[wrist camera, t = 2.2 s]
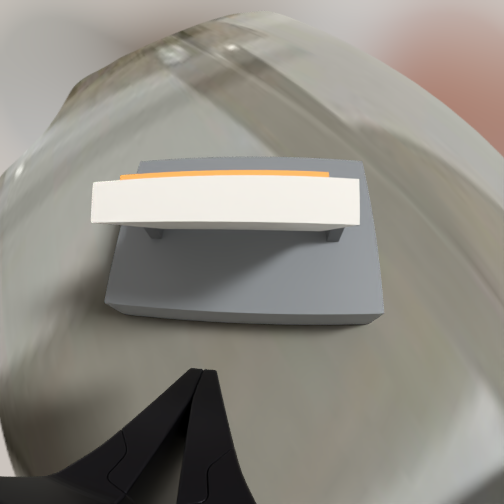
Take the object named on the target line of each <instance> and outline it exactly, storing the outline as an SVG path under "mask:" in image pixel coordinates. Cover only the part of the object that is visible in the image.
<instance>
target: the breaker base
mask: <svg viewBox="0 0 504 504" xmlns="http://www.w3.org/2000/svg"><path fill="white" fill-rule="evenodd" d="M208 170H289V171H317V172H329V177H333V178H350V179H359V190H360V225H356V226H350V227H344V228H338V229H332V230H326V231H285V230H226V229H159V228H148V227H136V226H125V225H121V228H120V232H119V236H118V240H117V244H116V248H115V252H114V257H113V261H112V266H111V270H110V275H109V280H108V285H107V290H106V295H105V301H104V303H106V304H107V305H109V306H111V307H112V308H114V309H116V310H118V311H119V312H121V313H123V314H127V315H136V316H146V317H157V318H168V319H180V320H194V321H209V322H227V323H250V324H286V325H345V324H369V323H371V322H372V321H374V320H375V319H377V318H378V317H380V316H381V315H382V314H384V305H383V293H382V282H381V273H380V264H379V256H378V248H377V241H376V234H375V227H374V221H373V215H372V209H371V203H370V197H369V192H368V187H367V182H366V177H365V172H364V167H363V163H362V161H353V160H338V159H321V158H298V157H209V158H185V159H168V160H153V161H141V162H140V165H139V167H138V171H137V174H144V173H160V172H180V171H208Z"/></svg>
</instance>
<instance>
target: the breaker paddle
mask: <svg viewBox="0 0 504 504" xmlns="http://www.w3.org/2000/svg"><path fill="white" fill-rule="evenodd" d="M91 223H100V224H113V225H125V226H136V227H148V228H159V229H226V230H285V231H326V230H332V229H338V228H344V227H350V226H356V225H360V190H359V179H350V178H333V177H329V172H317V171H289V170H208V171H180V172H160V173H144V174H131V175H120V180H115V181H104V182H93V192H92V210H91Z"/></svg>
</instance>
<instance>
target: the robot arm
mask: <svg viewBox="0 0 504 504" xmlns="http://www.w3.org/2000/svg"><path fill="white" fill-rule="evenodd" d="M0 504H256V502H255V500H254V498H253V496H252V494H251V492H250V490H249V488H248V486H247V483H246V481H245V479H244V476H243V474H242V471H241V468H240V465H239V462H238V459H237V455H236V451H235V448H234V444H233V440H232V436H231V432H230V428H229V423H228V419H227V415H226V411H225V406H224V402H223V398H222V393H221V389H220V384H219V380H218V375H217V371H216V370H207V369H205V370H204V371H203V370H202V369H196V368H191V369H189V370H188V371H187V372H186V373H185V374H184V375H182V376H181V377H180V378H179V379H178V380H177V381H176V382H175V383H174V384H172V385H171V386H170V387H169V388H168V389H167V390H166V391H165V392H164V393H162V394H161V395H160V396H159V397H158V398H157V399H156V400H155V401H153V402H152V403H151V404H150V405H149V406H148V407H147V408H145V409H144V410H143V411H142V412H141V413H140V414H138V415H137V416H136V417H135V418H134V419H133V420H132V421H130V422H129V423H128V424H127V425H126V426H125V427H123V428H122V430H120V431H118V432H117V433H116V434H115V435H114V436H113V437H111V438H110V439H109V440H107V441H106V442H105V443H104V444H102V445H101V446H100V447H98V448H97V449H95V450H94V451H92V452H91V453H89V454H88V455H86V456H84V457H83V458H81V459H80V460H78V461H76V462H75V463H73V464H71V465H70V466H68V467H66V468H65V469H63V470H61V471H59V472H57V473H55V474H52V475H48V476H39V477H1V476H0Z"/></svg>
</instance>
